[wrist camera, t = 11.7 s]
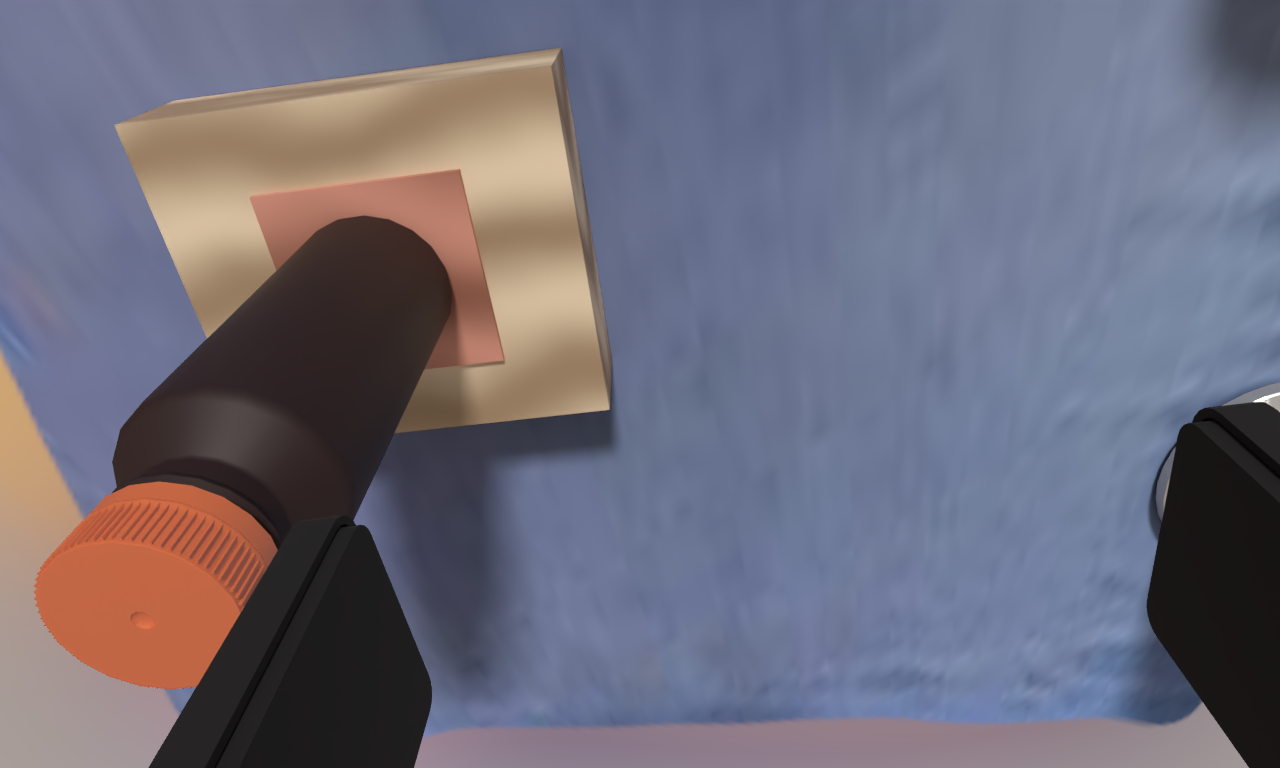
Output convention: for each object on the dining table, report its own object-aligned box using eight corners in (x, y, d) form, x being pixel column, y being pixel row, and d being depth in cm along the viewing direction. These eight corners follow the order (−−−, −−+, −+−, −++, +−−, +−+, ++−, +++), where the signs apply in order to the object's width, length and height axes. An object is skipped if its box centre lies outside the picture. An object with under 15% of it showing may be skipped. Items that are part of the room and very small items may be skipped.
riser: (612, 361, 45) (609, 412, 40) (291, 397, 46) (252, 451, 41) (561, 47, 37) (550, 67, 32) (174, 100, 38) (110, 127, 33)
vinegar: (378, 180, 34) (112, 453, 17) (485, 302, 37) (351, 643, 20) (267, 269, 36) (-74, 595, 19) (376, 378, 39) (166, 751, 22)
